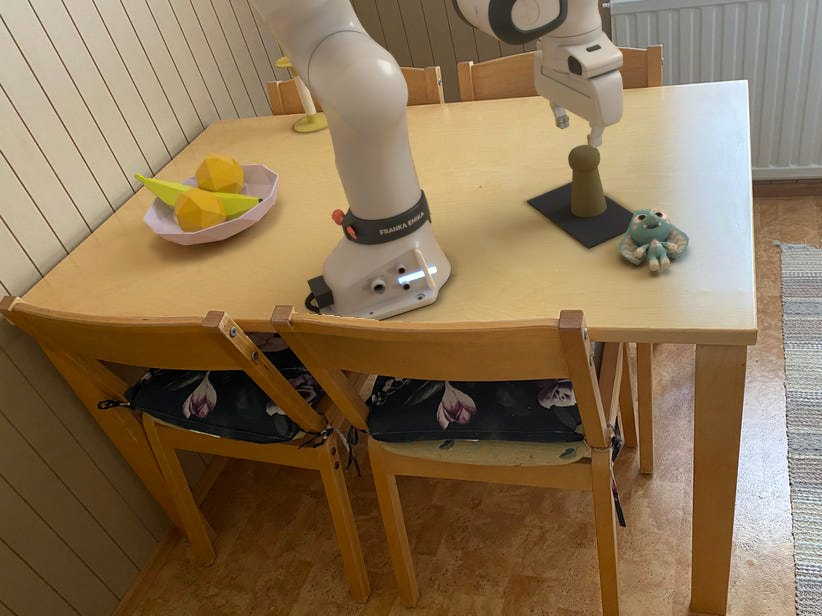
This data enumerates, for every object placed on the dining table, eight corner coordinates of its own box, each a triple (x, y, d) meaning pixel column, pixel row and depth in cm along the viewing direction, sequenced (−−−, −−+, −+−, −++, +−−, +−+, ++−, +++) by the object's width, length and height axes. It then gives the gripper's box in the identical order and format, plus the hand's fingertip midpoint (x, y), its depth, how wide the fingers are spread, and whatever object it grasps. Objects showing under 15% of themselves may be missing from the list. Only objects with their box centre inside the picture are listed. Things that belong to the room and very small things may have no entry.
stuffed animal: (622, 253, 107) (610, 198, 115) (624, 287, 113) (612, 233, 120) (699, 241, 106) (681, 187, 113) (696, 276, 112) (680, 222, 119)
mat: (589, 248, 119) (588, 247, 119) (527, 202, 134) (527, 200, 134) (646, 223, 122) (645, 221, 122) (579, 180, 136) (579, 178, 136)
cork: (605, 216, 125) (600, 156, 118) (569, 218, 127) (562, 158, 119) (607, 198, 129) (603, 138, 122) (573, 200, 131) (566, 141, 124)
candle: (294, 120, 184) (244, -22, 163) (334, 110, 184) (288, -33, 163) (294, 136, 176) (241, -11, 155) (335, 126, 176) (288, -22, 155)
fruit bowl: (315, 198, 150) (296, 145, 143) (213, 273, 135) (186, 218, 127) (225, 179, 164) (204, 131, 157) (124, 245, 149) (96, 195, 142)
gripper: (519, 38, 117) (529, 122, 126) (591, 70, 102) (596, 163, 111) (554, 26, 119) (561, 111, 128) (630, 57, 104) (632, 150, 113)
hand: (578, 136), depth 119 cm, fingers open, 8 cm apart
